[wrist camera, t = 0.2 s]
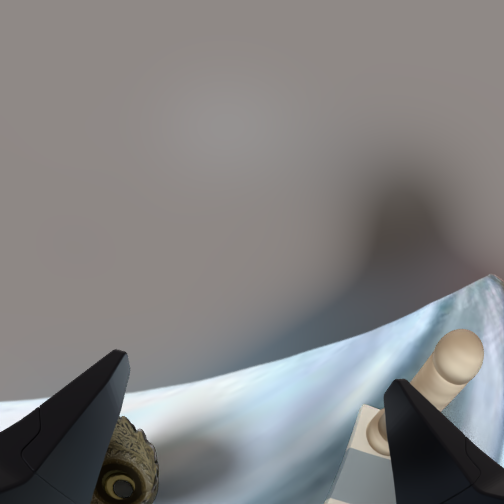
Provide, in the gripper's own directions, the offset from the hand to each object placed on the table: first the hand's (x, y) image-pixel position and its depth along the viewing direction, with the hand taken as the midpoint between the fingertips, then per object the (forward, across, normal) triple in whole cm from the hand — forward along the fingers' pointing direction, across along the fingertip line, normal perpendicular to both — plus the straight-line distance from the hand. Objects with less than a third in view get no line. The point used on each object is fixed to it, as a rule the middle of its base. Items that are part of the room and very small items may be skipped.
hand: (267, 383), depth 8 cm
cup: (-1, +8, +17) cm, 19 cm away
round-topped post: (+6, -15, +16) cm, 22 cm away
